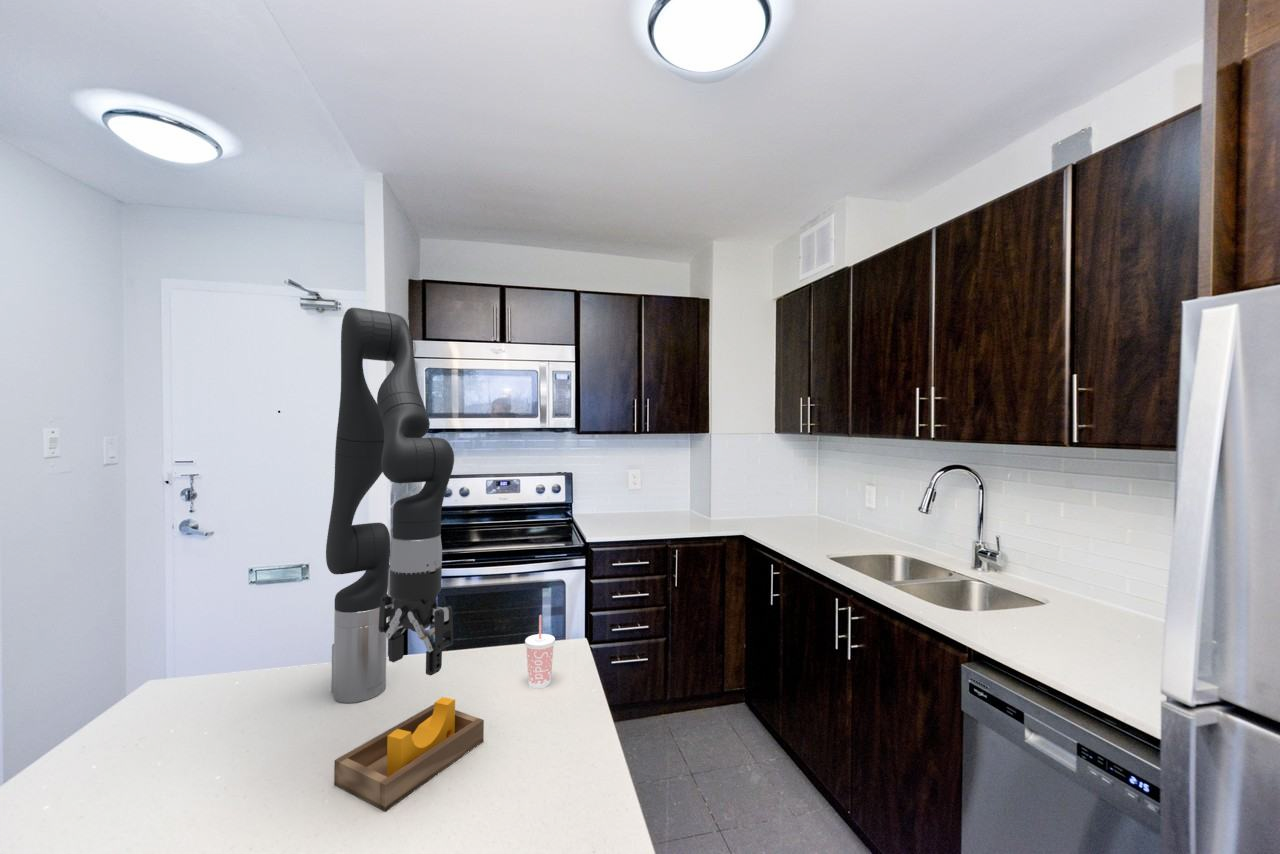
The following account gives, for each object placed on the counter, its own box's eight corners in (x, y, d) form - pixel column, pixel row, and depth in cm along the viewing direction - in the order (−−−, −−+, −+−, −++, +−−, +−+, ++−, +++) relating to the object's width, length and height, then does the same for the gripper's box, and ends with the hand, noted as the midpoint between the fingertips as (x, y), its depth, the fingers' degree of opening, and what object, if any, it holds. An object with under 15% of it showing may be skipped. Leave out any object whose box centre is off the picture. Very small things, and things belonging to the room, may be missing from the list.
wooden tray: (334, 784, 77) (334, 760, 77) (435, 723, 93) (435, 703, 93) (385, 811, 71) (385, 785, 72) (483, 741, 88) (483, 719, 88)
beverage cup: (520, 688, 106) (520, 619, 106) (530, 675, 112) (531, 609, 112) (549, 691, 105) (550, 621, 105) (558, 677, 111) (558, 610, 111)
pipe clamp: (433, 733, 89) (433, 695, 89) (454, 738, 88) (455, 699, 88) (377, 777, 78) (378, 733, 78) (401, 783, 76) (401, 739, 76)
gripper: (365, 562, 82) (363, 665, 82) (428, 577, 76) (425, 688, 76) (406, 553, 89) (404, 648, 89) (467, 565, 82) (465, 667, 83)
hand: (414, 666), depth 82 cm, fingers open, 8 cm apart
